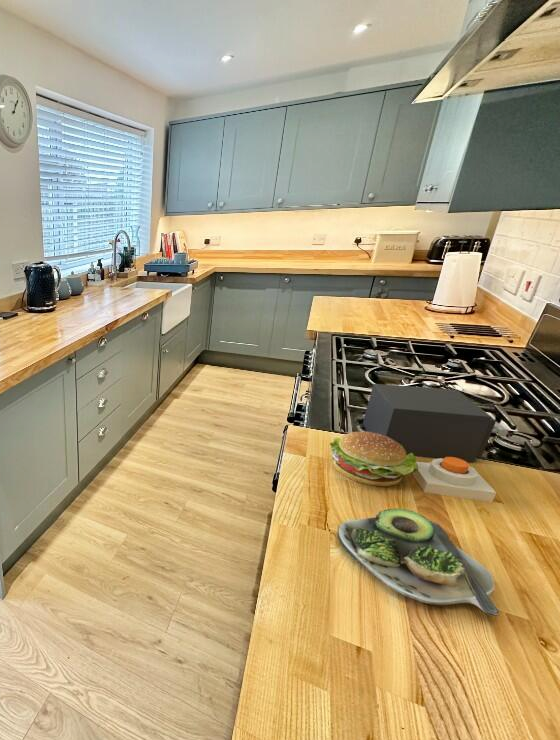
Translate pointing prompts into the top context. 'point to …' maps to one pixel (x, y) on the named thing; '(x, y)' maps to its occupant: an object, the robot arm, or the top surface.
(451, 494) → the block
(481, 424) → the dark grey box
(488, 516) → the top surface
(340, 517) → the top surface
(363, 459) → the food
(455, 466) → the button
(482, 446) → the fryer drawer
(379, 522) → the salad plate
